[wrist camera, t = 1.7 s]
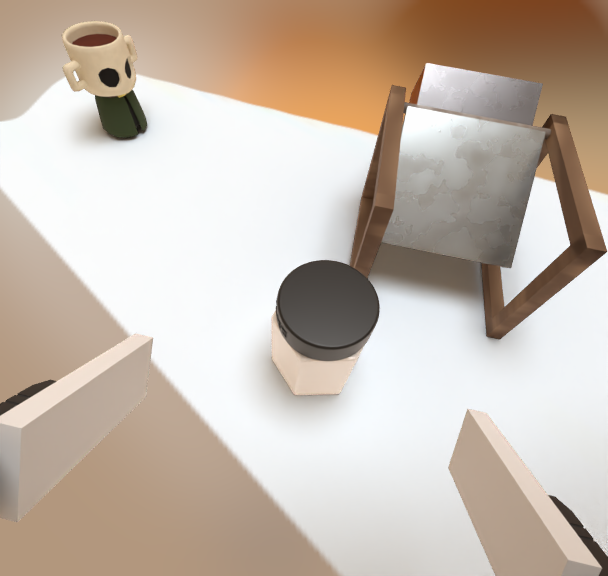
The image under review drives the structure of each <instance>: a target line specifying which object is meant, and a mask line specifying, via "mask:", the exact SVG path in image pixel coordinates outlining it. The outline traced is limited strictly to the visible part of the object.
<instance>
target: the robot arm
mask: <svg viewBox="0 0 608 576" xmlns="http://www.w3.org/2000/svg"><path fill="white" fill-rule="evenodd" d="M152 343H153V337H148V336H144V335H139V334H134V335H132V336H131V337H129V338H127V339H126V340H124V341H122V342H121V343H119V344H118V345H116V346H114V347H113V348H111V349H109V350H108V351H106V352H104V353H103V354H101V355H99V356H98V357H96V358H94V359H93V360H91V361H90V362H88V363H86V364H85V365H83V366H81V367H80V368H78V369H77V370H75V371H73V372H72V373H70V374H68V375H67V376H65V377H63V378H62V379H60V380H58V381H53V380H48V381H45V382H41V383H38V384H35V385H32V386H30V387H28V388H27V389H25V390H23V391H21V392H20V393H18V395H14V396H13V397H11V398H9V399H7V400H6V402H2V403H1V404H0V518H2V519H6V520H11V521H14V522H18V521H19V520H20V519H21V518H22V517H23V516H24V515H25V514H26V513H27V512H28V511H29V510H31V509H32V508H33V507H34V506H35V505H36V504H37V503H38V502H39V501H40V500H41V499H42V498H43V497H44V496H45V495H46V494H47V493H48V492H49V491H50V490H51V489H52V488H53V487H54V486H55V485H56V484H57V483H58V482H59V481H60V480H61V479H62V478H63V477H64V476H65V475H66V474H67V473H68V472H69V471H70V470H72V468H73V467H74V466H76V465H77V464H78V463H79V462H80V461H81V460H82V459H83V458H84V457H85V456H86V455H87V454H88V453H89V452H90V451H91V450H92V449H93V448H94V447H95V446H96V445H97V444H98V443H99V442H100V441H101V440H102V439H103V438H104V437H105V436H106V435H107V434H108V433H110V431H112V430H113V429H114V428H115V427H116V426H117V425H118V424H119V423H120V422H121V421H122V420H123V419H124V418H125V417H126V416H127V415H128V414H129V413H130V412H131V411H132V410H133V409H134V408H135V407H136V406H137V405H138V404H139V403H140V402H141V401H142V400H143V399H144V398H145V397H146V392H147V384H148V375H149V367H150V359H151V351H152ZM448 468H449V470H450V473H451V475H452V477H453V480H454V482H455V484H456V486H457V489H458V491H459V493H460V496H461V498H462V500H463V502H464V505H465V507H466V509H467V512H468V514H469V516H470V518H471V521H472V523H473V525H474V528H475V530H476V532H477V534H478V537H479V539H480V541H481V544H482V546H483V548H484V550H485V553H486V555H487V557H488V560H489V562H490V564H491V566H492V569H493V571H494V573H495V576H608V557H607V555H606V554H605V553H604V552H603V550H602V549H601V548H600V546H599V545H598V544H597V543H596V542H595V541H593V538H592V536H591V535H590V534H589V532H588V531H587V530H586V529H584V528H583V525H582V524H581V522H580V521H579V520H578V518H577V517H576V516H575V515H574V513H573V512H572V511H571V510H570V509H569V508H568V507H566V506H565V505H564V504H563V503H562V502H561V501H559V500H558V499H557V498H556V497H554V496H550V495H547V493H546V492H545V491H544V489H543V488H542V487H541V485H540V484H539V483H538V481H537V480H536V479H535V477H534V476H533V475H532V473H531V472H530V471H529V469H528V468H527V467H526V465H525V464H524V463H523V461H522V460H521V459H520V457H519V456H518V455H517V453H516V452H515V450H514V449H513V448H512V446H511V445H510V444H509V442H508V441H507V440H506V438H505V437H504V436H503V434H502V433H501V432H500V430H499V429H498V428H497V426H496V425H495V424H494V422H493V421H492V420H491V418H490V417H489V416H488V414H487V413H483V412H479V411H475V410H470V409H467V412H466V415H465V418H464V421H463V425H462V428H461V431H460V434H459V437H458V440H457V443H456V446H455V449H454V452H453V455H452V458H451V461H450V464H449V467H448Z"/></svg>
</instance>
